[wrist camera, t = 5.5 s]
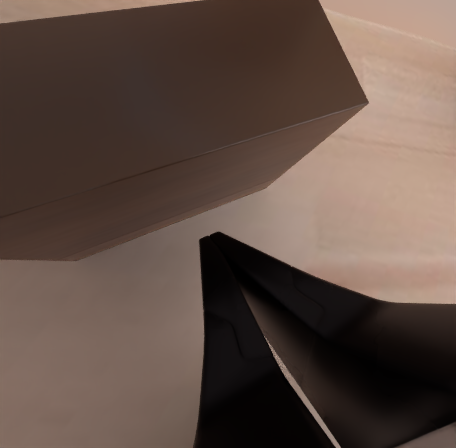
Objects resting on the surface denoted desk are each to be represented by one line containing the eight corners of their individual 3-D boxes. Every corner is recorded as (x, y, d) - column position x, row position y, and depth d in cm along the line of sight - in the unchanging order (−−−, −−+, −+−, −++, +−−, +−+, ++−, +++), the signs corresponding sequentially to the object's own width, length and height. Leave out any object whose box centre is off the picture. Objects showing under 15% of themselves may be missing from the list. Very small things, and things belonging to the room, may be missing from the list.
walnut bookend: (266, 188, 18) (370, 102, 8) (75, 261, 14) (-131, 257, 5) (206, 55, 19) (239, -163, 9) (10, 91, 15) (-281, -213, 5)
